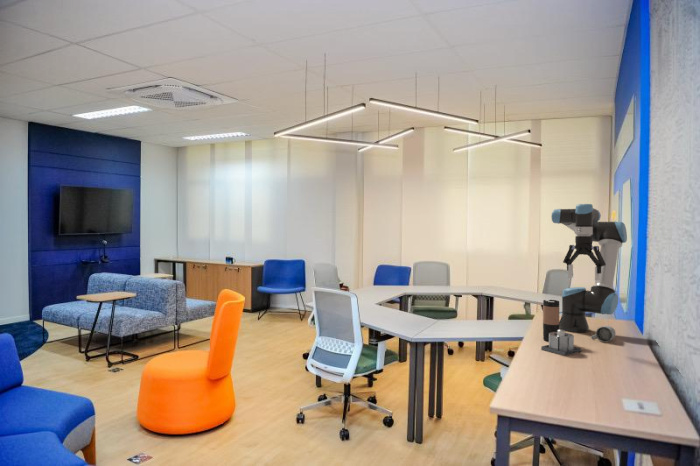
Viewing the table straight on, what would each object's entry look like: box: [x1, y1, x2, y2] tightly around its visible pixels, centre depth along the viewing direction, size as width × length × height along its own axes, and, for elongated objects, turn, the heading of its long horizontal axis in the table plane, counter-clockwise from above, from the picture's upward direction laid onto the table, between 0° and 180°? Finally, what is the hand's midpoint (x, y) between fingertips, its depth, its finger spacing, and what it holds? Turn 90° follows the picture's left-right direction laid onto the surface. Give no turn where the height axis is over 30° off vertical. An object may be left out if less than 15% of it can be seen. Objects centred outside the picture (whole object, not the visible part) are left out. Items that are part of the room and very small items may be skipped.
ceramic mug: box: [590, 325, 617, 343], centre depth 236 cm, size 11×8×8 cm
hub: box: [548, 332, 575, 350], centre depth 217 cm, size 10×10×6 cm
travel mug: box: [542, 299, 560, 343], centre depth 235 cm, size 8×8×20 cm
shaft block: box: [540, 329, 582, 357], centre depth 217 cm, size 12×12×10 cm
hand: (583, 279), depth 229 cm, fingers open, 13 cm apart
